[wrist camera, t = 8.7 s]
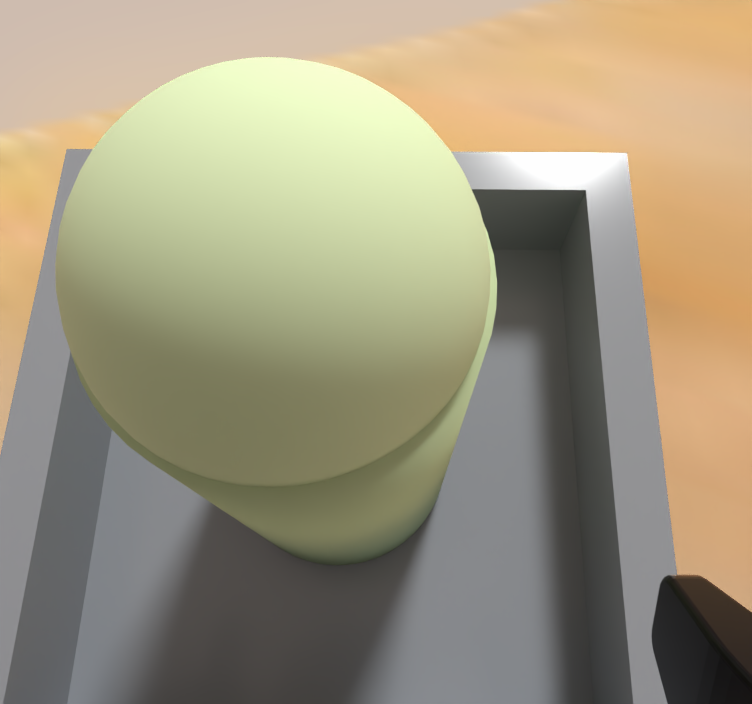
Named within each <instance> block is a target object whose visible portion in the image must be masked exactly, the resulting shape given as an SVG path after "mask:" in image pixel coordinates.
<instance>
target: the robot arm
mask: <svg viewBox="0 0 752 704" xmlns="http://www.w3.org/2000/svg"><path fill="white" fill-rule="evenodd" d="M651 637H652V647H653V652H654V656H655V659H656V663H657V667H658V670H659V674H660V678H661V682H662V685H663V689H664V693H665V696H666V700H667V704H752V612H750V611H749V610H748V609H746V608H745V607H743V606H742V605H741V604H739V603H738V602H737V601H735V600H734V599H733V598H731V597H730V596H728V595H727V594H726V593H724V592H723V591H722V590H720V589H719V588H718V587H716V586H715V585H713V584H712V583H711V582H709V581H708V580H707V579H705V578H703V577H701V576H698V575H667V576H665V577H664V578H663V579H662V581H661V583H660V587H659V592H658V597H657V603H656V608H655V614H654V619H653V625H652V635H651Z"/></svg>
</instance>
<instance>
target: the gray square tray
mask: <svg viewBox="0 0 752 704" xmlns="http://www.w3.org/2000/svg"><path fill="white" fill-rule="evenodd" d="M92 150H93V149H67V150H66V155H65V160H64V164H63V169H62V174H61V178H60V183H59V187H58V192H57V197H56V201H55V206H54V210H53V215H52V220H51V224H50V229H49V233H48V238H47V243H46V247H45V252H44V257H43V261H42V266H41V270H40V275H39V280H38V284H37V289H36V293H35V298H34V303H33V307H32V312H31V316H30V321H29V326H28V330H27V335H26V340H25V344H24V349H23V353H22V358H21V363H20V367H19V372H18V376H17V381H16V386H15V390H14V395H13V399H12V404H11V409H10V413H9V418H8V422H7V427H6V432H5V436H4V441H3V446H2V450H1V455H0V704H667V700H666V696H665V693H664V689H663V685H662V682H661V678H660V674H659V670H658V667H657V663H656V659H655V656H654V652H653V647H652V637H651V635H652V625H653V619H654V614H655V608H656V603H657V597H658V592H659V587H660V583H661V581H662V579H663V578H664V577H665V576H667V575H677V570H676V562H675V554H674V545H673V537H672V528H671V520H670V512H669V503H668V495H667V486H666V478H665V470H664V461H663V453H662V444H661V436H660V427H659V419H658V411H657V402H656V394H655V385H654V377H653V369H652V360H651V352H650V343H649V335H648V327H647V318H646V310H645V301H644V293H643V285H642V276H641V268H640V259H639V251H638V242H637V234H636V226H635V217H634V209H633V200H632V192H631V184H630V175H629V167H628V158H627V153H564V152H452V154H453V156H454V157H455V159H456V160H457V162H458V164H459V165H460V167H461V169H462V170H463V172H464V174H465V176H466V178H467V180H468V183H469V185H470V187H471V189H472V192H473V194H474V196H475V199H476V201H477V203H478V205H479V208H480V212H481V216H482V219H483V223H484V225H485V228H486V230H487V232H488V236H489V239H490V243H491V247H492V251H493V254H494V260H495V268H496V277H497V304H496V313H495V318H494V324H493V330H492V335H491V338H490V341H489V344H488V347H487V350H486V353H485V356H484V359H483V362H482V365H481V368H480V371H479V374H478V377H477V380H476V383H475V386H474V389H473V392H472V395H471V398H470V401H469V404H468V407H467V410H466V413H465V416H464V419H463V422H462V425H461V429H460V432H459V435H458V438H457V441H456V444H455V447H454V450H453V453H452V456H451V459H450V462H449V465H448V468H447V471H446V474H445V477H444V480H443V483H442V486H441V489H440V492H439V495H438V498H437V500H436V502H435V504H434V506H433V508H432V510H431V512H430V513H429V515H428V516H427V518H426V519H425V521H424V522H423V524H422V525H421V526H420V527H419V528H418V529H417V531H416V532H415V533H414V534H413V535H412V536H410V537H409V538H408V539H407V540H406V541H405V542H404V543H402V544H401V545H399V546H398V547H396V548H395V549H393V550H392V551H390V552H388V553H386V554H384V555H382V556H380V557H378V558H375V559H372V560H369V561H366V562H361V563H356V564H351V565H325V564H318V563H314V562H310V561H306V560H303V559H301V558H298V557H295V556H293V555H291V554H289V553H287V552H286V551H284V550H282V549H280V548H279V547H277V546H276V545H274V544H273V543H271V542H270V541H268V540H267V539H265V538H264V537H262V536H261V535H259V534H258V533H256V532H255V531H253V530H252V529H250V528H249V527H247V526H246V525H244V524H242V523H241V522H239V521H238V520H236V519H235V518H233V517H232V516H230V515H229V514H227V513H226V512H224V511H223V510H221V509H220V508H218V507H217V506H215V505H214V504H212V503H211V502H209V501H208V500H206V499H205V498H203V497H202V496H200V495H199V494H197V493H196V492H194V491H193V490H191V489H190V488H188V487H187V486H185V485H183V484H182V483H180V482H179V481H177V480H176V479H174V478H173V477H171V476H170V475H168V474H167V473H165V472H164V471H162V470H161V469H159V468H158V467H156V466H155V465H153V464H152V463H150V462H149V461H148V460H146V459H145V458H144V457H142V456H141V455H140V454H138V453H137V452H136V451H134V450H133V449H132V448H130V447H129V446H128V445H127V444H126V443H125V442H124V441H123V440H122V439H121V438H120V437H119V436H118V435H117V434H116V433H115V432H114V431H113V430H112V429H111V428H110V427H109V426H108V425H107V423H106V422H105V421H104V419H103V418H102V417H101V415H100V414H99V412H98V411H97V410H96V408H95V407H94V406H93V404H92V402H91V400H90V398H89V396H88V394H87V393H86V391H85V389H84V387H83V385H82V383H81V381H80V378H79V375H78V372H77V369H76V366H75V363H74V360H73V357H72V354H71V351H70V348H69V345H68V342H67V339H66V336H65V333H64V330H63V326H62V321H61V316H60V311H59V305H58V299H57V294H56V275H55V262H56V252H57V243H58V235H59V228H60V223H61V220H62V216H63V212H64V209H65V205H66V202H67V200H68V197H69V195H70V193H71V190H72V188H73V186H74V183H75V181H76V179H77V177H78V174H79V172H80V170H81V168H82V166H83V165H84V163H85V161H86V160H87V158H88V156H89V155H90V153H91V151H92Z"/></svg>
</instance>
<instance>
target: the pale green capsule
mask: <svg viewBox="0 0 752 704" xmlns="http://www.w3.org/2000/svg"><path fill="white" fill-rule="evenodd" d="M55 275H56V294H57V299H58V305H59V311H60V316H61V321H62V326H63V330H64V333H65V336H66V339H67V342H68V345H69V348H70V351H71V354H72V357H73V360H74V363H75V366H76V369H77V372H78V375H79V378H80V381H81V383H82V385H83V387H84V389H85V391H86V393H87V394H88V396H89V398H90V400H91V402H92V404H93V406H94V407H95V408H96V410H97V411H98V412H99V414H100V415H101V417H102V418H103V419H104V421H105V422H106V423H107V425H108V426H109V427H110V428H111V429H112V430H113V431H114V432H115V433H116V434H117V435H118V436H119V437H120V438H121V439H122V440H123V441H124V442H125V443H126V444H127V445H128V446H129V447H130V448H132V449H133V450H134V451H136V452H137V453H138V454H140V455H141V456H142V457H144V458H145V459H146V460H148V461H149V462H150V463H152V464H153V465H155V466H156V467H158V468H159V469H161V470H162V471H164V472H165V473H167V474H168V475H170V476H171V477H173V478H174V479H176V480H177V481H179V482H180V483H182V484H183V485H185V486H187V487H188V488H190V489H191V490H193V491H194V492H196V493H197V494H199V495H200V496H202V497H203V498H205V499H206V500H208V501H209V502H211V503H212V504H214V505H215V506H217V507H218V508H220V509H221V510H223V511H224V512H226V513H227V514H229V515H230V516H232V517H233V518H235V519H236V520H238V521H239V522H241V523H242V524H244V525H246V526H247V527H249V528H250V529H252V530H253V531H255V532H256V533H258V534H259V535H261V536H262V537H264V538H265V539H267V540H268V541H270V542H271V543H273V544H274V545H276V546H277V547H279V548H280V549H282V550H284V551H286V552H287V553H289V554H291V555H293V556H295V557H298V558H301V559H303V560H306V561H310V562H314V563H318V564H325V565H351V564H356V563H361V562H366V561H369V560H372V559H375V558H378V557H380V556H382V555H384V554H386V553H388V552H390V551H392V550H393V549H395V548H396V547H398V546H399V545H401V544H402V543H404V542H405V541H406V540H407V539H408V538H409V537H410V536H412V535H413V534H414V533H415V532H416V531H417V529H418V528H419V527H420V526H421V525H422V524H423V522H424V521H425V519H426V518H427V516H428V515H429V513H430V512H431V510H432V508H433V506H434V504H435V502H436V500H437V498H438V495H439V492H440V489H441V486H442V483H443V480H444V477H445V474H446V471H447V468H448V465H449V462H450V459H451V456H452V453H453V450H454V447H455V444H456V441H457V438H458V435H459V432H460V429H461V425H462V422H463V419H464V416H465V413H466V410H467V407H468V404H469V401H470V398H471V395H472V392H473V389H474V386H475V383H476V380H477V377H478V374H479V371H480V368H481V365H482V362H483V359H484V356H485V353H486V350H487V347H488V344H489V341H490V338H491V335H492V330H493V324H494V318H495V313H496V304H497V277H496V268H495V260H494V254H493V251H492V247H491V243H490V239H489V236H488V232H487V230H486V228H485V225H484V223H483V219H482V216H481V212H480V208H479V205H478V203H477V201H476V199H475V196H474V194H473V192H472V189H471V187H470V185H469V183H468V180H467V178H466V176H465V174H464V172H463V170H462V169H461V167H460V165H459V164H458V162H457V160H456V159H455V157H454V156H453V154H452V152H451V151H450V150H449V149H448V147H447V146H446V145H445V144H444V143H443V141H442V140H441V139H440V138H439V136H438V135H437V134H436V133H435V132H434V131H433V129H432V128H431V127H430V126H429V125H428V123H427V122H425V121H424V120H423V119H422V118H421V117H420V116H419V115H418V114H417V113H416V112H415V111H414V110H412V109H411V108H410V107H409V106H407V105H406V104H405V103H403V102H402V101H400V100H399V99H398V98H396V97H395V96H393V95H392V94H390V93H389V92H387V91H386V90H384V89H383V88H381V87H379V86H377V85H375V84H374V83H372V82H370V81H368V80H366V79H364V78H362V77H360V76H358V75H355V74H353V73H350V72H348V71H345V70H343V69H340V68H336V67H332V66H329V65H325V64H321V63H317V62H311V61H305V60H298V59H292V58H277V57H259V58H244V59H239V60H232V61H226V62H221V63H218V64H214V65H210V66H207V67H203V68H200V69H198V70H195V71H192V72H190V73H187V74H185V75H182V76H180V77H178V78H176V79H174V80H172V81H170V82H168V83H166V84H164V85H163V86H161V87H159V88H158V89H156V90H155V91H153V92H151V93H150V94H148V95H147V96H146V97H144V98H143V99H142V100H140V101H139V102H138V103H137V104H135V105H134V106H133V107H132V108H130V109H129V110H128V111H127V112H126V113H125V114H124V115H122V116H121V118H120V119H119V120H118V121H117V122H116V123H115V124H114V125H113V126H112V127H111V128H110V129H109V130H108V131H107V132H106V133H105V134H104V136H103V137H102V138H101V139H100V141H99V142H98V143H97V145H96V146H95V147H94V148H93V150H92V151H91V153H90V155H89V156H88V158H87V160H86V161H85V163H84V165H83V166H82V168H81V170H80V172H79V174H78V177H77V179H76V181H75V183H74V186H73V188H72V190H71V193H70V195H69V197H68V200H67V202H66V205H65V209H64V212H63V216H62V220H61V223H60V228H59V235H58V243H57V252H56V262H55Z"/></svg>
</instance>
